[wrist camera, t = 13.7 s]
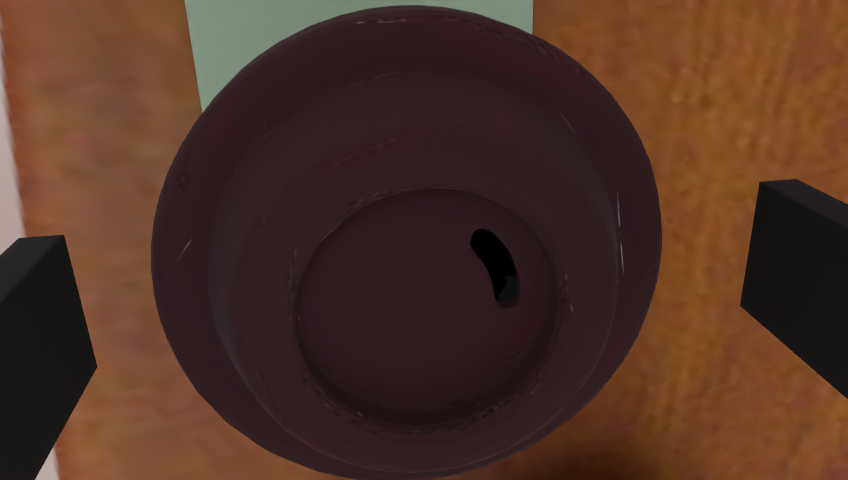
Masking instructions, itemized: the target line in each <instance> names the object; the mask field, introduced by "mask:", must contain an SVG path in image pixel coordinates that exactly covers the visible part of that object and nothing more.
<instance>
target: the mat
mask: <svg viewBox="0 0 848 480" xmlns="http://www.w3.org/2000/svg"><path fill="white" fill-rule="evenodd" d="M184 2H185V8H186V14H187V21H188V27H189V33H190V40H191V46H192V52H193V59H194V65H195V71H196V78H197V84H198V90H199V97H200V103H201V109H202V113H203V112H204V110H205V109H206V108H207V106H208V105H209V104H210V102H211V101H212V100H213V98H214V97H215V96H216V95H217V94H218V93H219V92H220V91H221V90H222V89H223V88H224V87H225V86H226V85H227V83H228V82H229V81H230V80H231V79H232V78H233V77H234V76H235V75H236V74H237V73H238V72H239V71H240V70H241V69H242V68H243V67H245V66H246V65H247V64H248V63H250V62H251V61H252V60H253V59H255V58H256V57H257V56H258V55H260V54H261V53H263V52H264V51H266V50H267V49H269V48H270V47H272V46H273V45H275V44H276V43H278V42H279V41H281V40H283V39H285V38H287V37H289V36H291V35H293V34H295V33H297V32H299V31H301V30H303V29H305V28H307V27H308V26H311V25H314V24H316V23H319V22H322V21H325V20H328V19H331V18H333V17H336V16H339V15H343V14H347V13H351V12H355V11H359V10H363V9H368V8H377V7H386V6H399V5H425V6H437V7H447V8H452V9H457V10H463V11H468V12H473V13H477V14H480V15H483V16H486V17H489V18H492V19H494V20H497V21H500V22H503V23H506V24H509V25H512V26H515V27H517V28H519V29H521V30H523V31H526V32H528V33H530V34H532V29H533V0H184Z"/></svg>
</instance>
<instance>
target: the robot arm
mask: <svg viewBox="0 0 848 480" xmlns="http://www.w3.org/2000/svg"><path fill="white" fill-rule="evenodd" d="M740 306H741V307H742V308H743V309H744V310H746V311H747V312H748V313H749V314H750V315H751V316H752V317H754V318H755V319H756V320H757V321H758V322H759V323H760V324H762V325H763V326H764V327H765V328H766V329H767V330H769V331H770V332H771V333H772V334H773V335H774V336H775V337H777V338H778V339H779V340H780V341H781V342H782V343H784V344H785V345H786V346H787V347H788V348H789V349H790V350H792V351H793V352H794V353H795V354H796V355H797V356H799V357H800V358H801V359H802V360H803V361H804V362H805V363H807V364H808V365H809V366H810V367H811V368H812V369H814V370H815V371H816V372H817V373H818V374H819V375H820V376H822V377H823V378H824V379H825V380H826V381H827V382H829V383H830V384H831V385H832V386H833V387H834V388H835V389H837V390H838V391H839V392H840V393H841V394H842V395H844V396H845V397H846V398H847V399H848V204H846V203H844V202H842V201H840V200H837V199H835V198H833V197H831V196H829V195H827V194H825V193H823V192H821V191H819V190H817V189H815V188H813V187H811V186H809V185H807V184H805V183H803V182H801V181H799V180H797V179H792V180H778V181H765V182H760V183H759V190H758V196H757V202H756V209H755V215H754V221H753V227H752V234H751V240H750V246H749V253H748V259H747V265H746V272H745V278H744V284H743V291H742V297H741V303H740ZM96 368H97V364H96V360H95V356H94V352H93V348H92V344H91V340H90V336H89V332H88V328H87V324H86V320H85V316H84V312H83V308H82V304H81V300H80V296H79V292H78V289H77V285H76V281H75V277H74V273H73V269H72V265H71V261H70V257H69V253H68V249H67V245H66V241H65V237H64V235H55V236H42V237H29V238H19V239H18V240H16V241H15V242H14V243H13V244H12V245H11V246H10V247H9V248H8V249H7V250H6V251H4V252H3V253H2V254H1V255H0V480H35V479H36V477H37V475H38V473H39V471H40V469H41V468H42V466H43V464H44V462H45V460H46V459H47V457H48V455H49V453H50V451H51V450H52V448H53V446H54V444H55V442H56V441H57V439H58V437H59V435H60V433H61V432H62V430H63V428H64V426H65V424H66V422H67V421H68V419H69V417H70V415H71V413H72V412H73V410H74V408H75V406H76V404H77V403H78V401H79V399H80V397H81V395H82V394H83V392H84V390H85V388H86V386H87V384H88V383H89V381H90V379H91V377H92V375H93V374H94V372H95V370H96Z"/></svg>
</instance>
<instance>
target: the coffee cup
mask: <svg viewBox="0 0 848 480" xmlns="http://www.w3.org/2000/svg"><path fill="white" fill-rule="evenodd" d="M661 248H662V226H661V214H660V206H659V198H658V191H657V187H656V183H655V178H654V174H653V171H652V167H651V164H650V160H649V158H648V155H647V153H646V151H645V148H644V146H643V144H642V141H641V139H640V137H639V135H638V134H637V132H636V130H635V128H634V127H633V125H632V123H631V122H630V120H629V118H628V117H627V116H626V114H625V113H624V112H623V110H622V109H621V107H620V106H619V105H618V103H617V102H616V101H615V99H614V98H613V96H612V95H611V94H610V93H609V92H608V91H607V90H606V88H605V87H604V86H603V85H602V84H601V83H600V82H599V81H598V80H597V79H596V78H595V77H594V76H593V75H592V74H591V73H589V72H588V71H587V70H586V69H585V68H584V67H583V66H582V65H580V64H579V63H578V62H576V61H575V60H574V59H572V58H571V57H570V56H568V55H567V54H565V53H564V52H563V51H561V50H559V49H558V48H556V47H555V46H553V45H551V44H550V43H548V42H546V41H544V40H542V39H540V38H538V37H536V36H534V35H532V34H530V33H528V32H526V31H523V30H521V29H519V28H517V27H515V26H512V25H509V24H506V23H503V22H500V21H497V20H494V19H492V18H489V17H486V16H483V15H480V14H477V13H473V12H468V11H463V10H457V9H452V8H447V7H437V6H425V5H399V6H386V7H377V8H368V9H363V10H359V11H355V12H351V13H347V14H343V15H339V16H336V17H333V18H331V19H328V20H325V21H322V22H319V23H316V24H314V25H311V26H308V27H307V28H305V29H303V30H301V31H299V32H297V33H295V34H293V35H291V36H289V37H287V38H285V39H283V40H281V41H279V42H278V43H276V44H275V45H273V46H272V47H270V48H269V49H267V50H266V51H264V52H263V53H261V54H260V55H258V56H257V57H256V58H255V59H253V60H252V61H251V62H250V63H248V64H247V65H246V66H245V67H243V68H242V69H241V70H240V71H239V72H238V73H237V74H236V75H235V76H234V77H233V78H232V79H231V80H230V81H229V82H228V83H227V85H226V86H225V87H224V88H223V89H222V90H221V91H220V92H219V93H218V94H217V95H216V96H215V97H214V98H213V100H212V101H211V102H210V104H209V105H208V106H207V108H206V109H205V110H204V112H203V113H202V114H201V116H200V117H199V118H198V120H197V121H196V122H195V124H194V126H193V127H192V129H191V130H190V132H189V133H188V135H187V136H186V138H185V140H184V141H183V143H182V144H181V146H180V148H179V150H178V152H177V154H176V156H175V158H174V160H173V163H172V165H171V167H170V169H169V171H168V173H167V176H166V179H165V182H164V185H163V188H162V191H161V194H160V196H159V201H158V205H157V209H156V214H155V218H154V225H153V234H152V242H151V272H152V280H153V289H154V296H155V301H156V305H157V309H158V313H159V317H160V321H161V323H162V326H163V329H164V332H165V334H166V337H167V340H168V342H169V344H170V346H171V348H172V350H173V352H174V354H175V356H176V358H177V360H178V362H179V364H180V366H181V367H182V369H183V371H184V372H185V374H186V375H187V377H188V378H189V380H190V381H191V383H192V384H193V386H194V387H195V389H196V391H197V392H198V393H199V394H200V395H201V396H202V397H203V398H204V399H205V400H206V401H207V402H208V403H209V404H210V405H211V406H212V407H213V408H214V409H215V411H216V412H217V413H218V414H219V415H220V416H221V417H222V418H223V419H224V420H225V421H226V422H227V423H229V424H230V425H231V426H233V427H234V428H235V429H237V430H238V431H240V432H241V433H242V434H244V435H245V436H247V437H248V438H249V439H251V440H252V441H254V442H255V443H256V444H258V445H259V446H261V447H262V448H264V449H266V450H268V451H269V452H271V453H273V454H275V455H278V456H280V457H282V458H285V459H287V460H290V461H292V462H295V463H297V464H300V465H303V466H305V467H308V468H310V469H313V470H315V471H318V472H323V473H327V474H332V475H337V476H341V477H346V478H351V479H357V480H429V479H435V478H441V477H447V476H452V475H458V474H462V473H466V472H469V471H472V470H475V469H479V468H482V467H485V466H488V465H490V464H493V463H495V462H498V461H501V460H503V459H506V458H508V457H510V456H512V455H514V454H516V453H518V452H520V451H522V450H524V449H526V448H528V447H530V446H532V445H534V444H536V443H537V442H538V441H540V440H541V439H543V438H544V437H546V436H547V435H549V434H550V433H551V432H553V431H554V430H556V429H557V428H559V427H560V426H561V425H563V424H564V423H566V422H567V421H569V420H570V419H571V418H572V417H573V416H574V415H575V414H577V413H578V412H579V411H580V410H581V409H582V408H583V407H584V406H585V405H586V404H587V403H588V402H589V401H591V400H592V399H593V398H594V397H595V396H596V394H597V393H598V392H599V391H600V390H601V389H602V387H603V386H604V385H605V384H606V383H607V381H608V380H609V379H610V378H611V376H612V375H613V374H614V372H615V371H616V369H617V368H618V367H619V365H620V364H621V363H622V361H623V360H624V359H625V357H626V356H627V354H628V352H629V350H630V349H631V347H632V345H633V343H634V341H635V339H636V338H637V336H638V334H639V331H640V329H641V327H642V324H643V322H644V319H645V317H646V314H647V312H648V309H649V306H650V303H651V300H652V297H653V294H654V290H655V286H656V283H657V278H658V272H659V266H660V260H661Z"/></svg>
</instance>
